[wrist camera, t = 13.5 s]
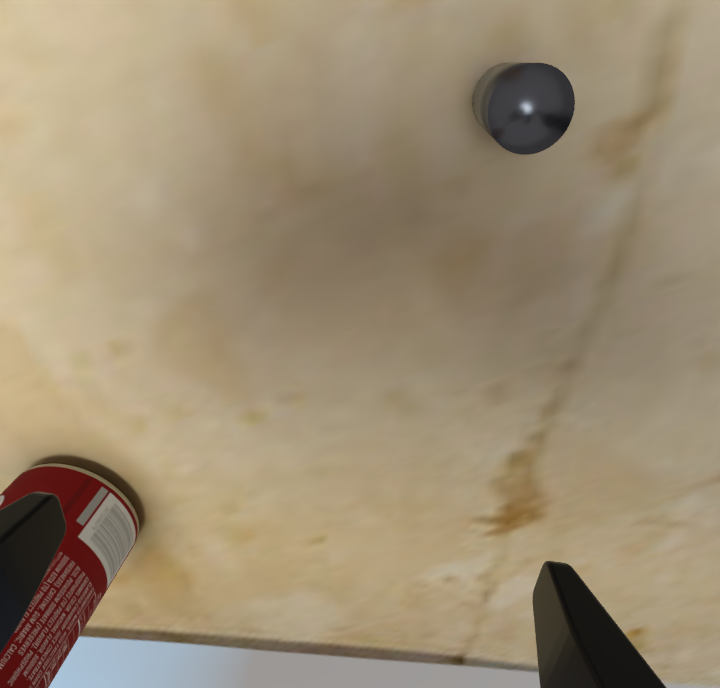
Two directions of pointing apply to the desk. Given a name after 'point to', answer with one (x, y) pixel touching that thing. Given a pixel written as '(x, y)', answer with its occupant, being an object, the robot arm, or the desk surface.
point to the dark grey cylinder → (524, 105)
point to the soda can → (67, 569)
